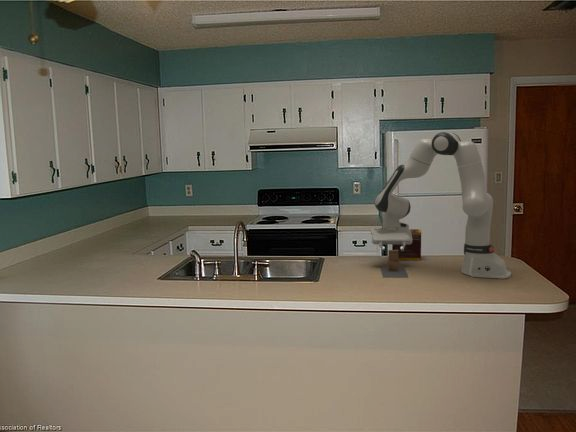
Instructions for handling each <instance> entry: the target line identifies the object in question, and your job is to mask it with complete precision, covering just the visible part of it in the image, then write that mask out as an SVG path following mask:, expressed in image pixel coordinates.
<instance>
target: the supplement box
mask: <svg viewBox="0 0 576 432" xmlns="http://www.w3.org/2000/svg"><path fill="white" fill-rule="evenodd" d="M409 230H410V231H411V234H412V243H411V244H410V245H405V247H404V251H401V250H400V248H401V247H402V244H391V250H398V261H408V260H412V261H414V262H418V261H419V262H420V261H421V260H422V231H421V229H420V228H419V229H418V228H417V229H411V228H409Z"/></svg>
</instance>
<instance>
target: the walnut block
mask: <svg viewBox="0 0 576 432" xmlns="http://www.w3.org/2000/svg"><path fill="white" fill-rule="evenodd" d="M387 267H388V270H389V271H398V267H399V260H398V250H392V249H388V266H387Z"/></svg>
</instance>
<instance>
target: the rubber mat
mask: <svg viewBox="0 0 576 432" xmlns="http://www.w3.org/2000/svg"><path fill="white" fill-rule="evenodd" d="M388 267H389V266H387V267H385V266H384V267H380V271H381V275H382V276H381V277H382V279H383V278H384V279H385V278H386V279H387V278H388V279H389V278H391V279H394V278H395V279H397V278H398V279H409V276H408V275H409V274H408V273H407V271H406V268H405V267H399V266H398V271H389V270H388Z"/></svg>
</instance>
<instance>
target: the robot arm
mask: <svg viewBox="0 0 576 432" xmlns="http://www.w3.org/2000/svg"><path fill="white" fill-rule="evenodd" d="M438 155H442V156H453V157H454V158H455V162H456V165H457V171H458V174H459V180H460V186H461V198H462V210H463V212H464V214H466V215H467V219H466V225H465V239H464V241H465V243H463V256H464V257H463V263H462V267H461V270H460V272H461V273H462V274H464V275H467V276H469V277H471V278H472V277H473V278H487V279H488V278H489V279H504V280H505V279H508V278H510V277H511V276H512V272H511V270H508V269H507V266H506V262H505V260H504V259H502V258H501V257H500V256H499V255H498V254H496V253H495V246H494V245H492V244H491V243H490V241H491V240H490V239H491V223H492V218H493V210H494V209H493V208H494V199H493V197H492V195H491V194H490V193H488V192H487V191H486V175H485V171H484V166H483V163H482V158H481V156H480V151H479V149H478V147H477V145H476V143H475V142H473V141H471V140H465V141H461V138H460V136H459V135H457V134H456V133H454V132H450V131H442V132H439V133H437V134H435V135H434V137H433V138H432V139H430V138H421V139H419V140H418V142H417V143H416V145H415V146H414V147H413V150H412V151H411V153H410V155H409V158H408V159H406V161H405V162H404V163H403V164H399V166H397V168H395V170H394V171H393V173H392V175H391V176H390V178H389V179H388V181H387V182H386V183H385V185H384V187H383V188H382V189H381V191H380V192H379V193H378V194H377V196H376V197H375V199H374V206H375V208H376V210H377V211H378V212H381V218H382V227H373V228H372V229H371V231H370V234H371V235H372V237H371V243H372V244H373V245H378V246H379V248H380V250H381V251H382V252H385V251H386V249H385V246H383V245H392V244H402V247H401V248H400V250H401V251H404V247H405V245H410V244H411V243H412V234H411V231H410V230H409V229H410V226H409V224H408V223H405V222H402V221H401V222H400V220H402V219H404V218H406V217H407V216H408V215H409V214H410V213H411V203H410V200H409V199H407V198H405V197H402V196H398V195H395V194H393V193H394V191H395V190H396V188H397V187H398V185H399V183H400V182H402V181H404V180H406V179H416V178H421V177H424V176H425V175H426V174H427V173H428V172H429V169H430V167H431V165H432V163H433V161H434V158H435V157H436V156H438Z"/></svg>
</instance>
